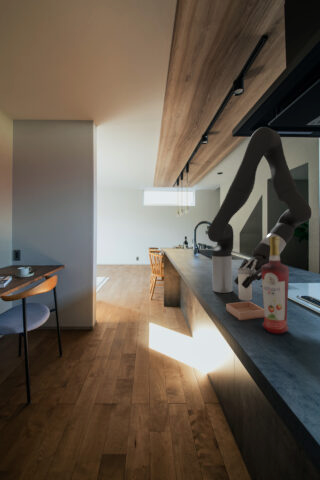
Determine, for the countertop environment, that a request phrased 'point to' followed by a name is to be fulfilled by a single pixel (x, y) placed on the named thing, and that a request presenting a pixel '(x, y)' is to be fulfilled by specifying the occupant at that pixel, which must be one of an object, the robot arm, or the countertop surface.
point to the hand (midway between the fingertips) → (240, 284)
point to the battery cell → (243, 292)
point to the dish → (245, 310)
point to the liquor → (275, 290)
